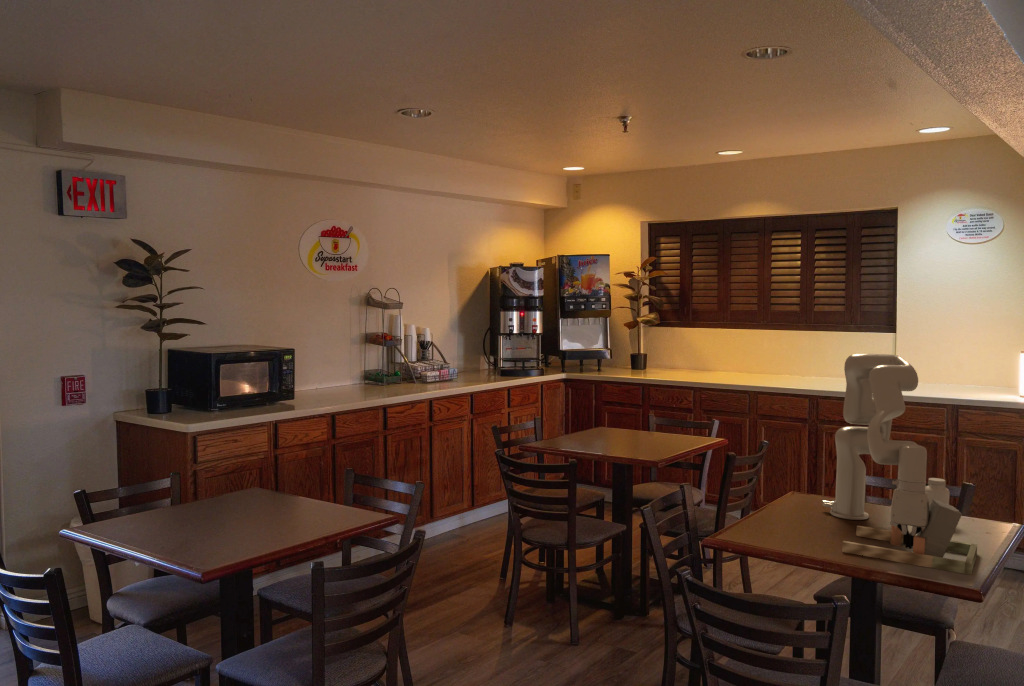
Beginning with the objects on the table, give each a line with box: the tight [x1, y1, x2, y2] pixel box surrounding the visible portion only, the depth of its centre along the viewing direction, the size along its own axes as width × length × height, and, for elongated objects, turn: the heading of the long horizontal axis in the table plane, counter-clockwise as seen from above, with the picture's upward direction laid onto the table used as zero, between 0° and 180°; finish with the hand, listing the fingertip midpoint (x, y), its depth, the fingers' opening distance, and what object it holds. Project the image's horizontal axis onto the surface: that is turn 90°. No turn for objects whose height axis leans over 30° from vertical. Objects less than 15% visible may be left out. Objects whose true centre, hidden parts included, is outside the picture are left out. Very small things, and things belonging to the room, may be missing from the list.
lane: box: [841, 525, 978, 576], centre depth 241 cm, size 34×23×3 cm
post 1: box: [890, 524, 902, 547], centre depth 249 cm, size 3×3×7 cm
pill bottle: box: [925, 477, 951, 507], centre depth 277 cm, size 8×8×15 cm
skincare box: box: [916, 499, 963, 558], centre depth 236 cm, size 8×7×16 cm
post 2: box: [912, 536, 925, 555], centre depth 232 cm, size 3×3×7 cm
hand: (908, 547), depth 240 cm, fingers closed
